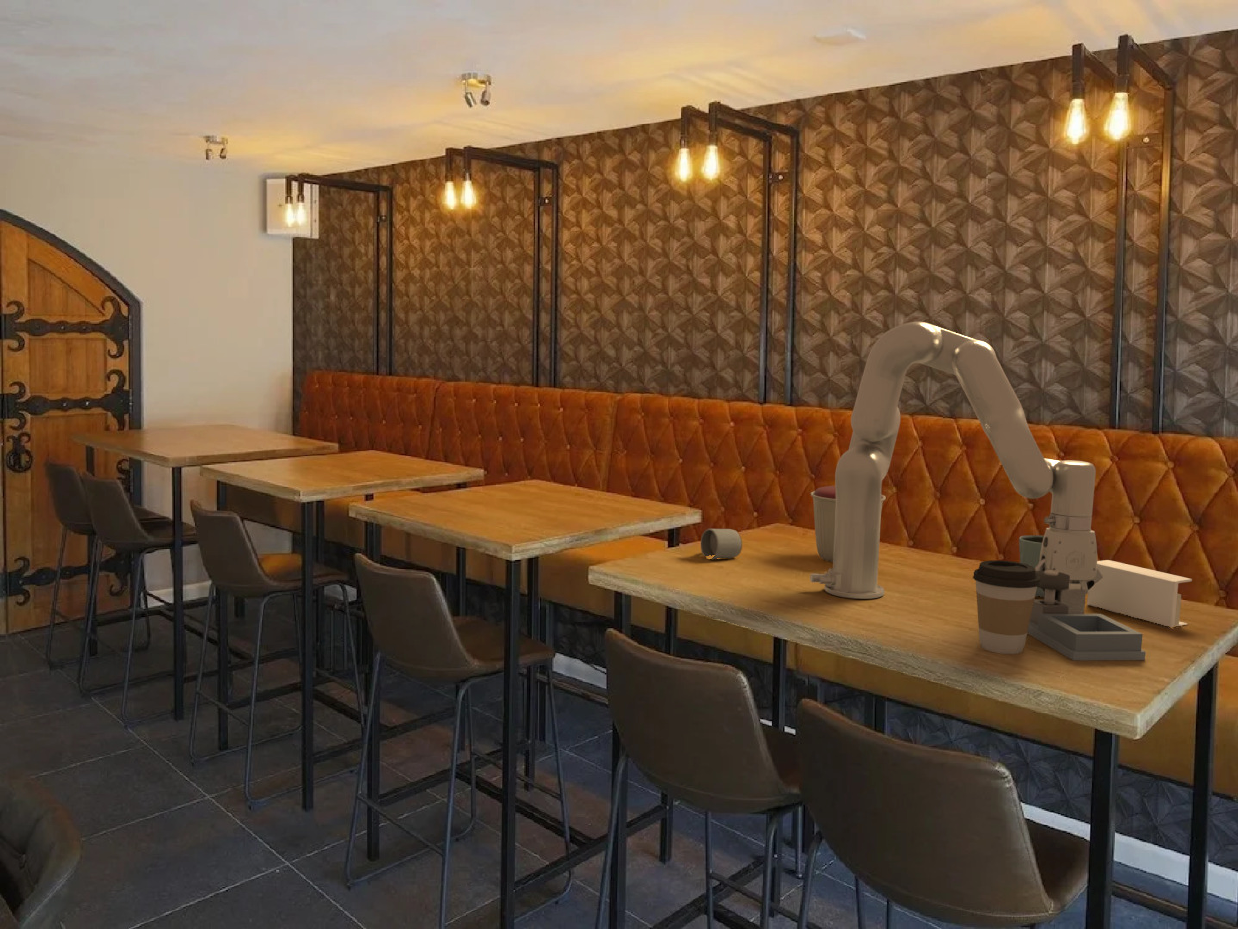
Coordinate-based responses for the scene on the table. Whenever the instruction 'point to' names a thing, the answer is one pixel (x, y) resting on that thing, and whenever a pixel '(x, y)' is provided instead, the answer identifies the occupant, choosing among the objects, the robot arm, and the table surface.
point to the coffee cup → (1004, 604)
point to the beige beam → (1138, 593)
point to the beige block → (1072, 597)
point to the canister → (826, 520)
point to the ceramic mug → (721, 543)
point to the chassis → (1084, 634)
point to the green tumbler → (1031, 553)
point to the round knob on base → (1052, 584)
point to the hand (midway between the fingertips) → (1063, 611)
